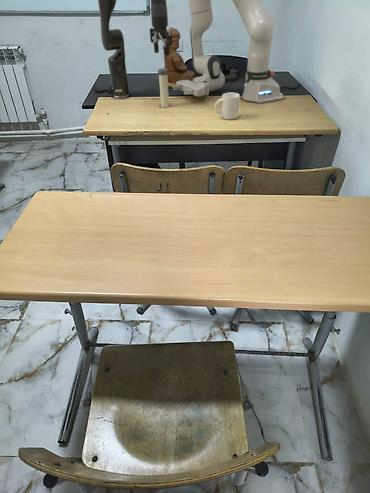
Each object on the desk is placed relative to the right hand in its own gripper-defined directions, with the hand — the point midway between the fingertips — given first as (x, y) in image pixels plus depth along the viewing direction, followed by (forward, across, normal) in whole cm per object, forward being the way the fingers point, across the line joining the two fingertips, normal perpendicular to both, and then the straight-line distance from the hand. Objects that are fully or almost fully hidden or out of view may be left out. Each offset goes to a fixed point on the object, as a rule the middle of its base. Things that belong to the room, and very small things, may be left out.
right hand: (178, 90), depth 192 cm
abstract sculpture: (-48, -22, +6) cm, 53 cm away
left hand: (+10, 0, -19) cm, 21 cm away
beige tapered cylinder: (+10, 0, +6) cm, 11 cm away
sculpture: (-20, -31, +6) cm, 37 cm away
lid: (+10, 0, -12) cm, 15 cm away
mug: (-5, +34, +6) cm, 35 cm away
